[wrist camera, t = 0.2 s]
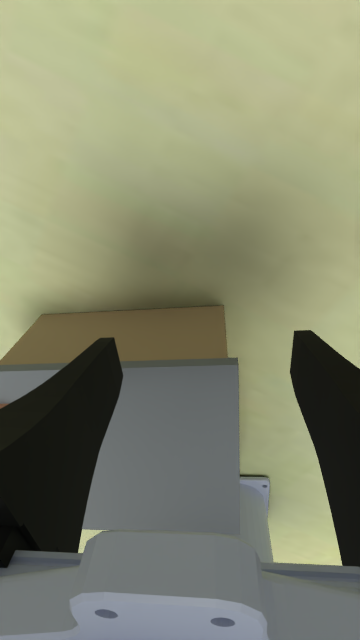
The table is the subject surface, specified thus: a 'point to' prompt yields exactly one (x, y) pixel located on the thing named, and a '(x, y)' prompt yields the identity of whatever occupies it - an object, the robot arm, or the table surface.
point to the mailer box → (125, 335)
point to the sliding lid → (161, 445)
